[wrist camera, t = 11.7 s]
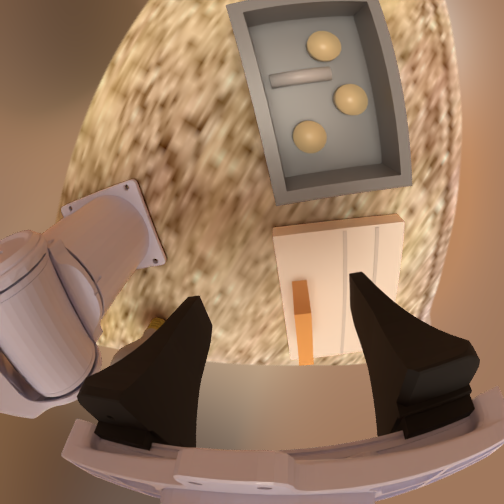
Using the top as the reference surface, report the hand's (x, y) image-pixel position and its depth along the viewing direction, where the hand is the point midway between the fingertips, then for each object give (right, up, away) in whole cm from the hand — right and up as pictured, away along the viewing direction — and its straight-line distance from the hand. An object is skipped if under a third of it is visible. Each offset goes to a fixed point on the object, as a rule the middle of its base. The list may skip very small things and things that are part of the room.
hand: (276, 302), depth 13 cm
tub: (+4, +13, +4) cm, 14 cm away
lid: (+7, -1, +12) cm, 14 cm away
